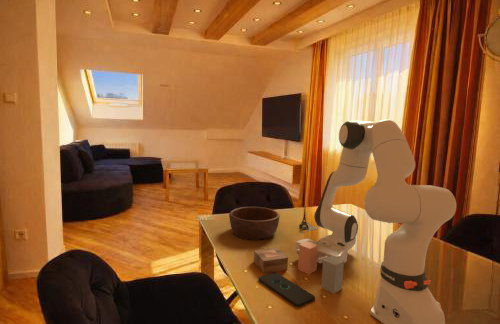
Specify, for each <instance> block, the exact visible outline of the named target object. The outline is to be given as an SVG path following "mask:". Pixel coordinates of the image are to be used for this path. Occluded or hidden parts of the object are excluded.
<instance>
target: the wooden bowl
mask: <svg viewBox="0 0 500 324" xmlns="http://www.w3.org/2000/svg"><path fill="white" fill-rule="evenodd" d="M228 215H229V216H228V217H229V223H230V228H231V230H232V232H233V233H234V235H235V236H237V237H238V238H241V239H245V240H250V241H251V240H252V241H253V240H254V241H258V240H265V239H270V238H272V236H274V235H275V233H276V232H277V229H278V226H279V222H280V213H279V212H277V210H274V209H273V208H267V207H263V206H262V207H261V206H243V207H242V206H241V207H238V208H237V207H236V208H234V209H232V210H230V212H229V213H228Z"/></svg>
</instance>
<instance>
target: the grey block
mask: <svg viewBox="0 0 500 324" xmlns="http://www.w3.org/2000/svg"><path fill="white" fill-rule="evenodd" d="M344 265H345V262H344V261H343V260H340V259H337V258H335V257H332V256H330V257H328V258H326V259H324V260H323V262H322V270H321V271H322V272H321V282H320V288H321V289H323V290H325V291H327V292H329V293H331V294H336V293H338V292H339V291H340V290H343V279H344V268H345V267H344Z"/></svg>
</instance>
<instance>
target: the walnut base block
mask: <svg viewBox="0 0 500 324" xmlns="http://www.w3.org/2000/svg"><path fill="white" fill-rule="evenodd" d="M253 263H254V264H255V265H256V266H257V267H258V269H259V270H260V271H261V272H262V273H263V274H267V273H273V272H280V271H286V270H288V266H289V265H288V264H289V257H288V256H287V255H286V254H284V252H282V251H281V250H280V249H279V248H278V247H273V248H263V249H255V250H253Z"/></svg>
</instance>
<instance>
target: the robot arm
mask: <svg viewBox="0 0 500 324" xmlns="http://www.w3.org/2000/svg"><path fill="white" fill-rule="evenodd" d="M338 140H339V143H340V145H341V147H342V150H341V154H340V157H339V162H338V165H337V167H336V169H335V170H334V171H332V172H331V173H330V174H329V176H328V178H327V180H326V183H325V186H324V189H323V193H322V195H321V199H320V201H319V204H318V206H317V207H316V210H315V212H314V215H313V216H314V217H313V218H314V222H315V224H316V226H317V227H318V228H319V227H320V228H322V229H325V230H328V231H330V232H332V233H331V234H329V235H326V236H322V237H321V238H320V239H318V241H316V240H313V239H311V238H303V239H299V240H297V241H296V243H295V249H296V255H299V245H300V244H302V243H305V242H310V243H313V244H316V245H318V255H317V259H316V260H317V261H316V262H317V264H323V260H324V259H326V258H328V257H330V256H332V257H335V258H337V259H340V260H343V261H344V263H346V262H347V260H348V252H349V251H350V250H351V249H352V248H353V247H354V246H355V245H356V242H357V234H358V230H359V223H358V220H357V219H356V217H355V215H353V214H351V213H348V212H346V211H342V210H340V209H338V208H335V207H334V206H333V202H334V200H335V197H336V193H337V191H338V190H339V188H341V187H350V186H355V185H358V184H360V183H362V182H363V181H364V180H365V179H366V176H367V173H368V170H369V163H370V156H371V154H372V156H373V159H374V164H375V168H376V173H377V176H376V177H377V178H376V180H375V183H374V185H372V186H371V187H370V188H369V189H368V190H367V191H366V193H365V196H364V198H363V207H364V210H365V212H366V214H367V215H368V217H369V218H370V219H372V220H374V221H377V222H382V223H387V224H401V226H400V227H399V228H397V230H395V231H393V232H392V233H390V234H388V236H387V237H386V239H385V240H384V248H383V259H382V260H383V261H382V262H381V264H380V265H381V266H380V280H379V283H378V285H377V287H376V291H375V297H374V301H373V305H372V307H371V309H370V312H369V313H370V315H371V316H373V318H375V319H377V320H378V321H379V322H381V324H446V318H445V317H446V316H445V313H444V310H443V309H442V305H441V303H440V302H438V301H437V300H436V298H435V297H434V295H433V294H432V292H431V291H430V289H429V288H428V287H429V285H431V282H432V279H431V280H430V279H427V274H426V271H425V265H426V258H427V252H428V249H429V245H430V243H431V241H432V238H433V237H434V235H436V232H437V231H438V230H439V229H440V228H441V226H443V225H444V224H445V223H446V222H448V221H450V220H451V219H452V218H453V216H455V215H456V212H457V201H456V198H455V195H454V194H453V193H452V191H450V189H447V188H444V187H441V186H436V185H431V184H429V185H427V184H408V183H407V182H406V179H407V178H408V177H409V176H411V175H412V174H413V172H414V171H415V169H416V160H415V158H414V155H413V153H412V151H411V147H410V145H409V142H408V141H407V137H406V136H405V134H404V132H403V131H402V129H401V128H400V127H399V125H398V124H397V123H396V121H394V120H390V119H381V120H379V121H373V120H370V121H369V120H354V119H353V120H348V121H345V122H344V123H343V124H342V125H341V126H340V128H339V133H338Z"/></svg>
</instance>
